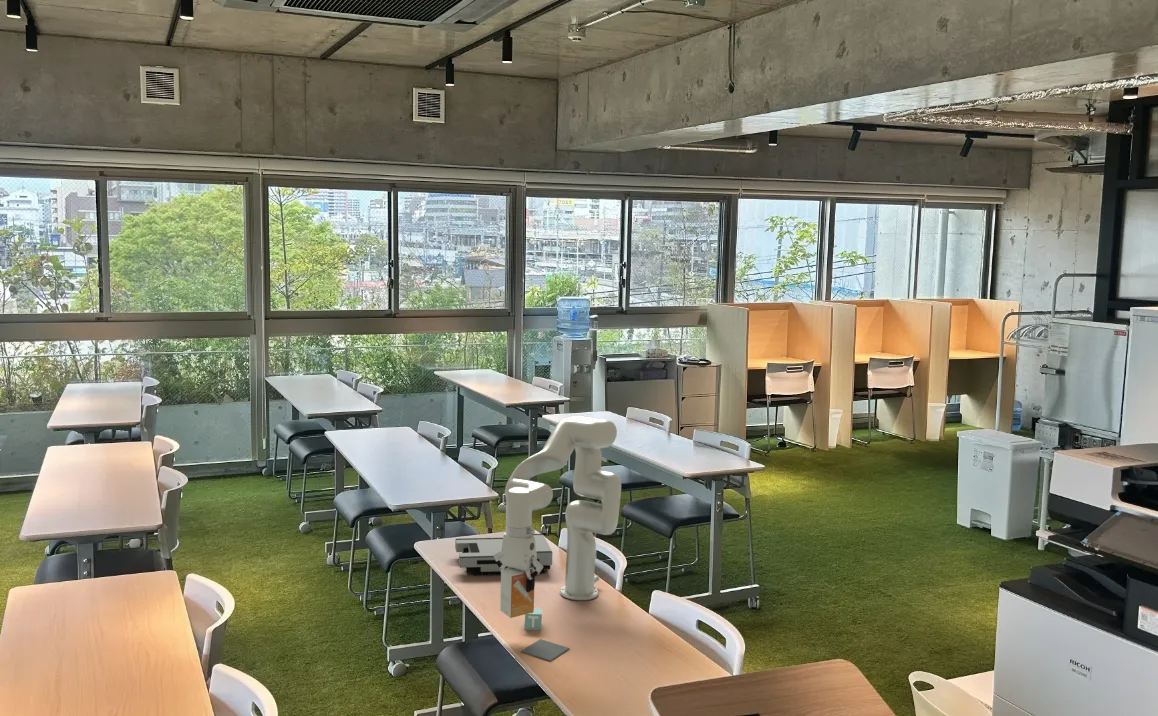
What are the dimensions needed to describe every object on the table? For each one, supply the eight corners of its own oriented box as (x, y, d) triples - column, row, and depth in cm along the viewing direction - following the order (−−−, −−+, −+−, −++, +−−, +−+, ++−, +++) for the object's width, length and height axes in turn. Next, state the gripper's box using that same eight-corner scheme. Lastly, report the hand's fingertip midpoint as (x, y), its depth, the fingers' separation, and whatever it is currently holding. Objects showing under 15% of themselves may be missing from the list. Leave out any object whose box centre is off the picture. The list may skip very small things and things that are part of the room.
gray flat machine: (454, 557, 349) (455, 535, 348) (541, 555, 356) (542, 533, 354) (459, 577, 329) (460, 554, 328) (551, 575, 335) (552, 552, 334)
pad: (540, 640, 281) (540, 638, 281) (569, 649, 276) (569, 647, 276) (520, 652, 273) (520, 650, 272) (550, 661, 267) (550, 660, 267)
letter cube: (524, 622, 293) (525, 607, 293) (541, 623, 293) (541, 607, 293) (524, 629, 288) (525, 613, 287) (541, 630, 288) (541, 614, 288)
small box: (510, 618, 277) (511, 576, 275) (499, 610, 282) (500, 568, 280) (534, 612, 281) (535, 570, 279) (523, 604, 287) (524, 563, 284)
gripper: (550, 532, 276) (549, 589, 279) (502, 520, 285) (501, 576, 288) (536, 540, 270) (535, 598, 273) (486, 527, 279) (486, 584, 282)
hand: (517, 586), depth 280 cm, fingers closed on small box, 8 cm apart
